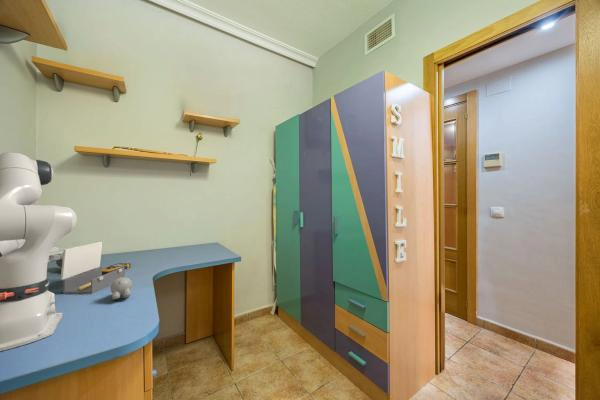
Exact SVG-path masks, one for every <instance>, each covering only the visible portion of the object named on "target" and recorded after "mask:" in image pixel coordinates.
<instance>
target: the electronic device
mask: <svg viewBox="0 0 600 400" xmlns="http://www.w3.org/2000/svg"><path fill="white" fill-rule="evenodd" d="M122 267H125V269H126V270H128V269H130V268H131V263H130V262H129V263H127V262H118V263H116V264H112V265H109V266H106V267H102V275H105V274H107V273H110V272H112V271H115V270H117V269H120V268H122ZM127 268H128V269H127Z"/></svg>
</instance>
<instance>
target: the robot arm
mask: <svg viewBox="0 0 600 400" xmlns="http://www.w3.org/2000/svg"><path fill="white" fill-rule="evenodd" d="M53 178H54V169H53V168H52V166H51V164H50V163H49V162H47V161H45V160H41V159H36V160H35V159H31V158H30V157H29V156H27V155H25V154H23V153H19V152H13V151H8V152H2V153H0V352H3V351H6V350H10V349H15V348H19V347H21V346H24V345H27V344H31V343H33V342H36V341H40V340H42V339H44V338H47V337H49V336H51V335H53V334H54V332H55V331H56V329H57V327H58V325H59V324H60V322H61V320H62V318H63V317H64V315H63V312H57V306H55V304H56V303H57V301H56V299H55V293H53V292H52V291H50V290H49V288H50V287H49V285H50V281H49V277H47V275H48V273H47V272H48V263H50V262H54V261H55V262H56V260H59V259H63V252H64V249H69V248H70V247H58V246H55V245H57V243H58V242H59V241H60V240H61V239H62V238H64V237H66V236H67V235H68V234H70V233H71V232H72V231H74V229H75V228H76V227H77V224H78V215H77V214H76V212H75V210H73V208H71V207H69V206H61V205H54V204H35V202H37V201H38V200H39V199H40V198H41V197H42V195H43V189H42V186H44V185H49V183H51V182H52V180H53Z"/></svg>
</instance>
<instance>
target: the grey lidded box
mask: <svg viewBox="0 0 600 400" xmlns="http://www.w3.org/2000/svg"><path fill="white" fill-rule="evenodd" d="M102 269H103V267H102V266H100V267H98V268H96V269H94V270H91V271H86V272H83V273H80V274H77V275H74V276H72V277H69V278H66V279H63V280H62V286H63V289H62V290H63V291H62V293H63V295H86V294H88V295H93V294H94V293H98V292H99V291H101V290H103V289H105V288H107V287H111V284H112V283H113V282H114V281H115V280H116V279H118V278H121V277H126V276H125V271H126V270H125V267H122V268H120V269H117V270H115V271H112V272H110V273H107V274H105V275H102Z"/></svg>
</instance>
